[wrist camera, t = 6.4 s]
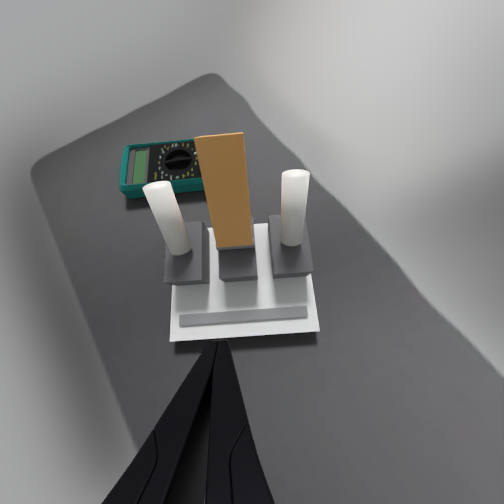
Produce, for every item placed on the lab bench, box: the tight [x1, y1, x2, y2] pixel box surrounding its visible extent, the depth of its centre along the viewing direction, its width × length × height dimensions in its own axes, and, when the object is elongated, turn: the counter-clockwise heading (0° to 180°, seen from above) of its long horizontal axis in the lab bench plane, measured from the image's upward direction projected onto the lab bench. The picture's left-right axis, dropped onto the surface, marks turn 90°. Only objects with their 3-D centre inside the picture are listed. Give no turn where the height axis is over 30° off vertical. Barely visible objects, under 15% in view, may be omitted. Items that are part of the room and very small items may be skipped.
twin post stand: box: [142, 169, 320, 342], centre depth 17 cm, size 13×15×11 cm
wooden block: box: [194, 132, 255, 251], centre depth 16 cm, size 2×4×9 cm
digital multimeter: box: [119, 139, 205, 199], centre depth 26 cm, size 7×15×3 cm, turn 95°
